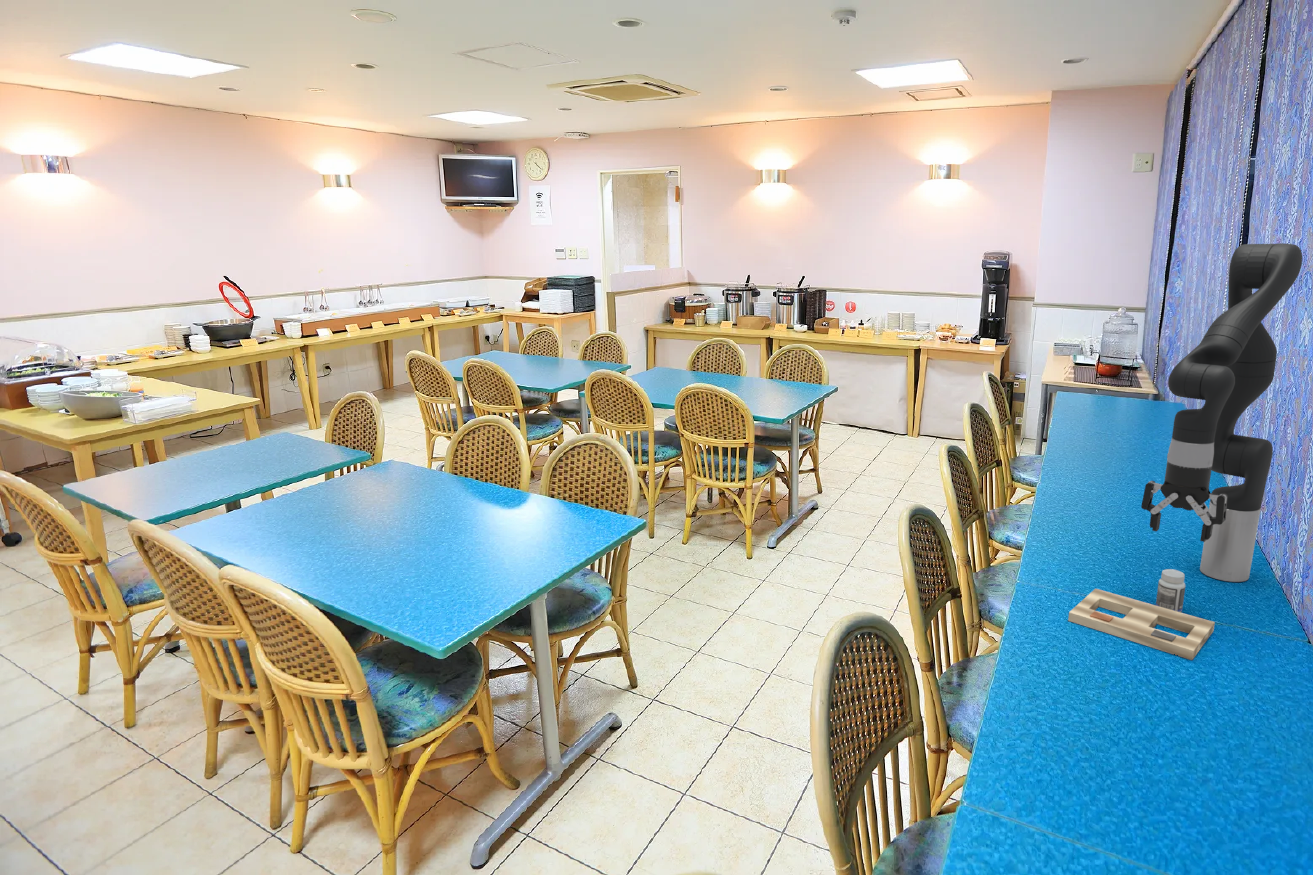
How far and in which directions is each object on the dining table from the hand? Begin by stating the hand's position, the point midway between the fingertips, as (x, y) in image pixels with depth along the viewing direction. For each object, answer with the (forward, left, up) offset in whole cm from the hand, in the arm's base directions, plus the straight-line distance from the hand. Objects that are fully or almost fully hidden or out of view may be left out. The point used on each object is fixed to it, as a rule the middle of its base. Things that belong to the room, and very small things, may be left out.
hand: (1179, 535), depth 155 cm
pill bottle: (0, 0, -17) cm, 17 cm away
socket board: (+12, -2, -17) cm, 21 cm away
